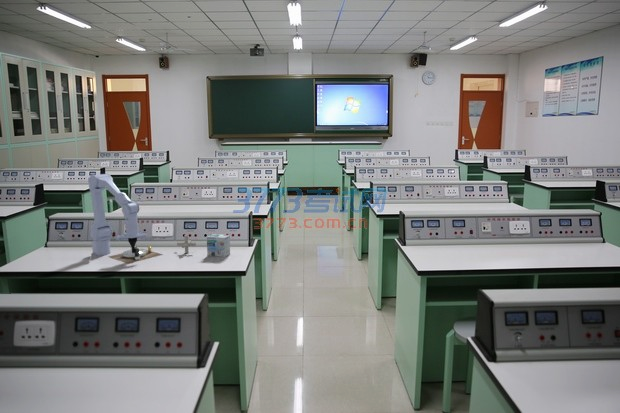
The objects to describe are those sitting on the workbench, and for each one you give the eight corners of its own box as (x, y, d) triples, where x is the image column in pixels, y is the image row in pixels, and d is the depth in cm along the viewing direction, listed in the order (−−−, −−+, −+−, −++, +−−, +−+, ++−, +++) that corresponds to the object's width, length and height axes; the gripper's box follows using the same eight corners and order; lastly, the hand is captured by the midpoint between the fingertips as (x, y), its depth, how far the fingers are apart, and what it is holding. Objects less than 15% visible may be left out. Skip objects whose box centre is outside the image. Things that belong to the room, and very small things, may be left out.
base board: (107, 258, 232) (107, 256, 232) (142, 250, 248) (141, 248, 247) (128, 265, 220) (128, 263, 220) (163, 256, 236) (163, 254, 235)
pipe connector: (198, 250, 247) (198, 233, 245) (192, 255, 237) (191, 237, 236) (181, 250, 248) (180, 232, 246) (174, 255, 238) (173, 237, 237)
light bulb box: (207, 256, 237) (206, 236, 235) (212, 252, 243) (211, 233, 242) (225, 257, 234) (224, 237, 233) (230, 253, 241) (230, 234, 239)
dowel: (147, 252, 239) (147, 246, 238) (150, 252, 240) (149, 246, 240) (149, 253, 238) (148, 247, 237) (151, 252, 239) (151, 246, 239)
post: (130, 251, 234) (130, 246, 233) (135, 250, 236) (134, 245, 235) (133, 252, 232) (133, 246, 231) (138, 251, 234) (137, 245, 233)
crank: (120, 253, 236) (120, 243, 235) (144, 250, 242) (143, 240, 241) (125, 261, 223) (124, 250, 222) (150, 257, 229) (149, 247, 228)
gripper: (115, 229, 217) (117, 255, 219) (147, 227, 222) (148, 253, 225) (116, 226, 224) (118, 252, 226) (147, 224, 229) (148, 249, 231)
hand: (133, 252), depth 226 cm, fingers closed, pressing on crank
